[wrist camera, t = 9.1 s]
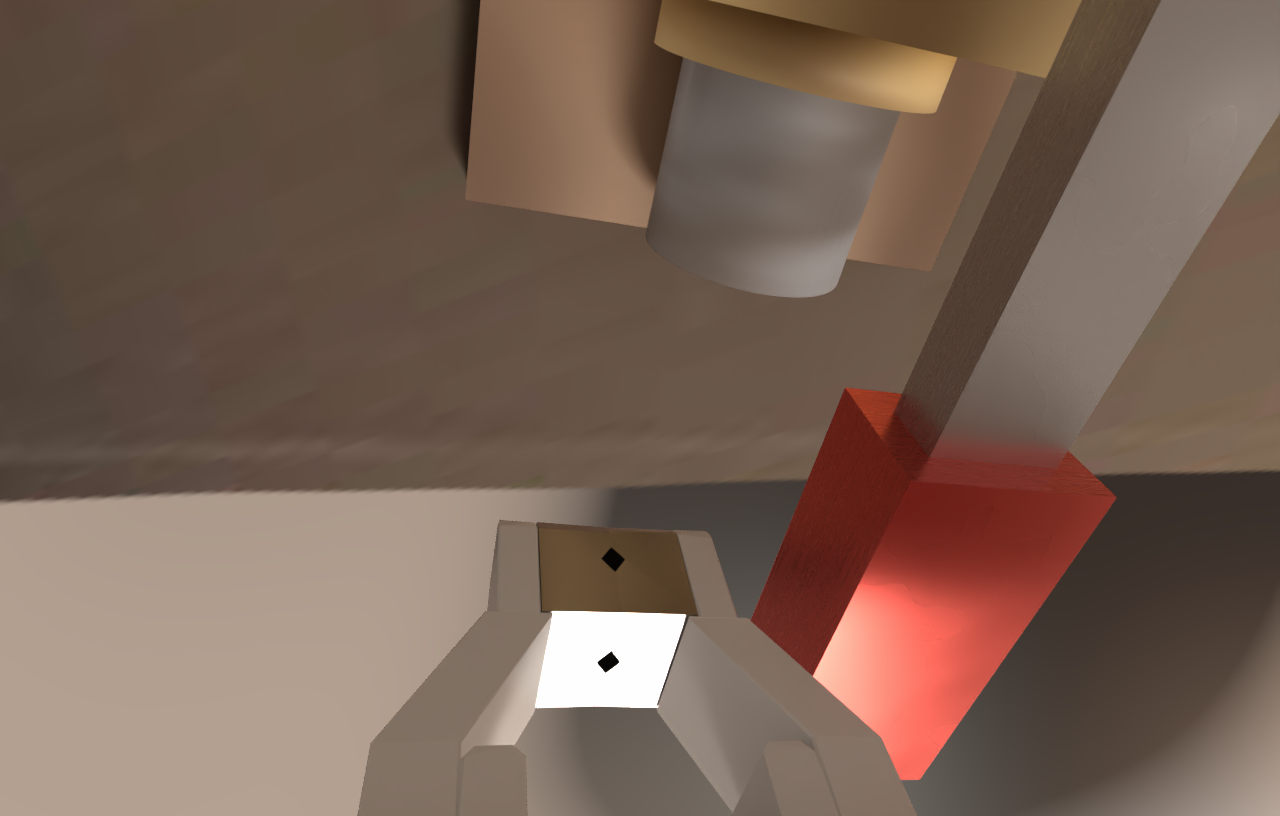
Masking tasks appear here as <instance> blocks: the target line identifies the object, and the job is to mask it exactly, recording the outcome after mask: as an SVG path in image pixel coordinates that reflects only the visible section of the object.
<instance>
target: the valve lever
mask: <svg viewBox="0 0 1280 816" xmlns="http://www.w3.org/2000/svg"><path fill="white" fill-rule="evenodd" d="M1279 113H1280V0H1082V1H1081V3H1080V5H1079V7H1078V9H1077V12H1076V14H1075V16H1074V18H1073V20H1072V23H1071V25H1070V27H1069V29H1068V31H1067V34H1066V36H1065V38H1064V40H1063V42H1062V45H1061V47H1060V49H1059V51H1058V53H1057V56H1056V58H1055V60H1054V62H1053V64H1052V66H1051V69H1050V71H1049V73H1048V75H1047V77H1046V80H1045V82H1044V84H1043V86H1042V88H1041V91H1040V93H1039V95H1038V97H1037V99H1036V102H1035V104H1034V106H1033V108H1032V110H1031V112H1030V115H1029V117H1028V119H1027V121H1026V123H1025V126H1024V128H1023V130H1022V132H1021V134H1020V137H1019V139H1018V141H1017V143H1016V145H1015V148H1014V150H1013V152H1012V154H1011V156H1010V158H1009V161H1008V163H1007V165H1006V167H1005V169H1004V172H1003V174H1002V176H1001V178H1000V180H999V183H998V185H997V187H996V189H995V191H994V194H993V196H992V198H991V200H990V202H989V204H988V207H987V209H986V211H985V213H984V215H983V218H982V220H981V222H980V224H979V226H978V229H977V231H976V233H975V235H974V237H973V240H972V242H971V244H970V246H969V248H968V250H967V253H966V255H965V257H964V259H963V261H962V264H961V266H960V268H959V270H958V272H957V275H956V277H955V279H954V281H953V283H952V286H951V288H950V290H949V292H948V294H947V297H946V299H945V301H944V303H943V305H942V307H941V310H940V312H939V314H938V316H937V318H936V321H935V323H934V325H933V327H932V329H931V332H930V334H929V336H928V338H927V340H926V343H925V345H924V347H923V349H922V351H921V353H920V356H919V358H918V360H917V362H916V364H915V367H914V369H913V371H912V373H911V375H910V378H909V380H908V382H907V384H906V386H905V389H904V391H903V393H902V394H898V393H889V392H880V391H871V390H862V389H853V388H845V390H844V392H843V394H842V397H841V399H840V402H839V404H838V407H837V409H836V412H835V414H834V417H833V419H832V422H831V424H830V426H829V429H828V431H827V434H826V436H825V439H824V441H823V444H822V446H821V449H820V451H819V454H818V456H817V458H816V461H815V463H814V466H813V468H812V471H811V473H810V476H809V478H808V481H807V483H806V486H805V488H804V491H803V493H802V496H801V498H800V500H799V503H798V506H797V508H796V510H795V513H794V515H793V518H792V520H791V522H790V525H789V528H788V530H787V532H786V536H785V537H784V540H783V542H782V545H781V547H780V550H779V552H778V554H777V557H776V559H775V562H774V565H773V567H772V569H771V572H770V574H769V577H768V579H767V582H766V584H765V586H764V589H763V592H762V594H761V596H760V599H759V601H758V604H757V606H756V609H755V611H754V614H753V616H752V619H751V622H753V623H754V624H755V625H756V626H757V627H758V628H759V629H760V630H761V631H763V632H764V633H765V634H766V635H767V636H768V637H769V638H770V639H772V640H773V641H774V642H775V643H776V644H777V645H778V646H779V647H781V648H782V649H783V650H784V651H785V652H786V653H787V654H788V655H790V656H791V657H792V658H793V659H794V660H795V661H796V662H797V663H798V664H800V665H801V666H802V667H803V668H804V669H805V670H806V671H807V672H809V673H810V674H811V675H812V676H813V677H814V678H815V679H816V680H818V681H819V682H820V683H821V684H822V685H823V686H824V687H825V688H826V689H828V690H829V691H830V692H831V693H832V694H833V695H834V696H835V697H837V698H838V699H839V700H840V701H841V702H842V703H843V704H844V705H846V706H847V707H848V708H849V709H850V710H851V711H852V712H853V713H855V714H856V715H857V716H858V717H859V718H860V719H861V720H862V721H863V722H865V723H866V724H867V725H868V726H869V727H870V728H871V729H872V730H874V731H875V732H876V733H877V734H878V735H879V736H880V737H881V738H882V740H883V742H884V744H885V747H886V749H887V751H888V753H889V755H890V758H891V760H892V762H893V764H894V766H895V769H896V771H897V773H898V775H899V777H900V780H920V778H921V777H922V775H923V774H924V773H925V771H926V770H927V768H928V767H929V765H930V764H931V763H932V761H933V759H934V758H935V757H936V755H937V754H938V752H939V751H940V750H941V748H942V747H943V745H944V744H945V742H946V741H947V740H948V738H949V737H950V735H951V734H952V732H953V731H954V729H955V728H956V727H957V725H958V724H959V722H960V721H961V720H962V718H963V716H964V715H965V714H966V712H967V711H968V709H969V708H970V707H971V705H972V704H973V702H974V701H975V700H976V698H977V697H978V695H979V694H980V692H981V691H982V690H983V688H984V687H985V685H986V684H987V682H988V681H989V680H990V678H991V677H992V675H993V674H994V672H995V671H996V669H997V668H998V667H999V665H1000V664H1001V662H1002V661H1003V660H1004V658H1005V657H1006V655H1007V654H1008V652H1009V651H1010V649H1011V648H1012V647H1013V645H1014V643H1015V642H1016V641H1017V640H1018V638H1019V636H1020V635H1021V634H1022V632H1023V631H1024V629H1025V628H1026V627H1027V625H1028V624H1029V622H1030V621H1031V619H1032V618H1033V616H1034V615H1035V614H1036V612H1037V611H1038V609H1039V608H1040V607H1041V605H1042V604H1043V602H1044V601H1045V599H1046V598H1047V597H1048V595H1049V594H1050V592H1051V591H1052V589H1053V588H1054V586H1055V585H1056V584H1057V582H1058V581H1059V579H1060V578H1061V577H1062V575H1063V574H1064V572H1065V571H1066V569H1067V568H1068V567H1069V565H1070V563H1071V562H1072V561H1073V559H1074V558H1075V557H1076V555H1077V554H1078V552H1079V551H1080V549H1081V548H1082V546H1083V545H1084V544H1085V542H1086V541H1087V539H1088V538H1089V536H1090V535H1091V533H1092V532H1093V531H1094V529H1095V528H1096V526H1097V525H1098V524H1099V522H1100V521H1101V519H1102V518H1103V516H1104V515H1105V514H1106V512H1107V511H1108V509H1109V508H1110V506H1111V505H1112V504H1113V502H1114V501H1115V499H1116V498H1117V497H1116V496H1115V495H1114V494H1113V493H1112V492H1111V491H1110V490H1108V489H1107V488H1106V487H1105V486H1104V485H1103V484H1102V483H1101V482H1100V481H1099V480H1098V479H1097V478H1096V477H1095V476H1094V475H1093V474H1092V473H1091V472H1090V471H1089V470H1088V469H1087V468H1085V467H1084V466H1083V465H1082V464H1081V463H1080V462H1079V461H1078V460H1077V459H1076V458H1075V457H1074V456H1073V455H1072V454H1071V453H1070V452H1069V451H1068V450H1069V448H1070V447H1071V445H1072V444H1073V442H1074V440H1075V439H1076V437H1077V436H1078V434H1079V432H1080V431H1081V429H1082V428H1083V426H1084V424H1085V423H1086V421H1087V420H1088V418H1089V417H1090V415H1091V413H1092V412H1093V410H1094V409H1095V407H1096V405H1097V404H1098V402H1099V401H1100V399H1101V397H1102V396H1103V394H1104V393H1105V391H1106V389H1107V388H1108V386H1109V385H1110V383H1111V381H1112V380H1113V378H1114V377H1115V375H1116V373H1117V372H1118V370H1119V369H1120V367H1121V365H1122V364H1123V362H1124V361H1125V359H1126V357H1127V356H1128V354H1129V353H1130V351H1131V350H1132V348H1133V346H1134V345H1135V343H1136V342H1137V340H1138V338H1139V337H1140V335H1141V334H1142V332H1143V330H1144V329H1145V327H1146V326H1147V324H1148V322H1149V321H1150V319H1151V318H1152V316H1153V314H1154V313H1155V311H1156V310H1157V308H1158V306H1159V305H1160V303H1161V302H1162V300H1163V298H1164V297H1165V295H1166V294H1167V292H1168V290H1169V289H1170V287H1171V286H1172V284H1173V283H1174V281H1175V279H1176V278H1177V276H1178V275H1179V273H1180V271H1181V270H1182V268H1183V267H1184V265H1185V263H1186V262H1187V260H1188V259H1189V257H1190V255H1191V254H1192V252H1193V251H1194V249H1195V247H1196V246H1197V244H1198V243H1199V241H1200V239H1201V238H1202V236H1203V235H1204V233H1205V231H1206V230H1207V228H1208V227H1209V225H1210V223H1211V222H1212V220H1213V219H1214V217H1215V216H1216V214H1217V212H1218V211H1219V209H1220V208H1221V206H1222V204H1223V203H1224V201H1225V200H1226V198H1227V196H1228V195H1229V193H1230V192H1231V190H1232V188H1233V187H1234V185H1235V184H1236V182H1237V180H1238V179H1239V177H1240V176H1241V174H1242V172H1243V171H1244V169H1245V168H1246V166H1247V164H1248V163H1249V161H1250V160H1251V158H1252V157H1253V155H1254V153H1255V152H1256V150H1257V149H1258V147H1259V145H1260V144H1261V142H1262V141H1263V139H1264V137H1265V136H1266V134H1267V133H1268V131H1269V129H1270V128H1271V126H1272V125H1273V123H1274V121H1275V120H1276V118H1277V117H1278V115H1279Z"/></svg>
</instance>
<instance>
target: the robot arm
mask: <svg viewBox="0 0 1280 816" xmlns="http://www.w3.org/2000/svg"><path fill="white" fill-rule="evenodd" d="M596 705H597V706H616V707H619V706H620V707H657V712H658V713H659V714H660V716H661V717H662V718H663V720H664V721H665V723H666V724H667V725H668V726H669V728H670V729H671V730H672V732H673V733H674V735H675V736H676V737H677V739H678V740H679V741H680V743H681V744H682V745H683V747H684V748H685V749H686V751H687V752H688V753H689V755H690V756H691V757H692V759H693V760H694V761H695V763H696V764H697V765H698V767H699V768H700V769H701V771H702V772H703V773H704V775H705V776H706V778H707V779H708V780H709V782H710V783H711V784H712V786H713V787H714V788H715V790H716V791H717V792H718V794H719V795H720V796H721V798H722V799H723V800H724V802H725V803H726V804H727V806H728V807H729V808H730V810H731V811H732V812H733V813H732V815H731V816H917V815H916V813H915V811H914V808H913V806H912V804H911V802H910V800H909V797H908V795H907V793H906V791H905V789H904V786H903V784H902V782H901V780H900V777H899V775H898V773H897V771H896V769H895V766H894V764H893V762H892V760H891V758H890V755H889V753H888V751H887V749H886V747H885V744H884V742H883V740H882V738H881V737H880V736H879V735H878V734H877V733H876V732H875V731H874V730H872V729H871V728H870V727H869V726H868V725H867V724H866V723H865V722H863V721H862V720H861V719H860V718H859V717H858V716H857V715H856V714H855V713H853V712H852V711H851V710H850V709H849V708H848V707H847V706H846V705H844V704H843V703H842V702H841V701H840V700H839V699H838V698H837V697H835V696H834V695H833V694H832V693H831V692H830V691H829V690H828V689H826V688H825V687H824V686H823V685H822V684H821V683H820V682H819V681H818V680H816V679H815V678H814V677H813V676H812V675H811V674H810V673H809V672H807V671H806V670H805V669H804V668H803V667H802V666H801V665H800V664H798V663H797V662H796V661H795V660H794V659H793V658H792V657H791V656H790V655H788V654H787V653H786V652H785V651H784V650H783V649H782V648H781V647H779V646H778V645H777V644H776V643H775V642H774V641H773V640H772V639H770V638H769V637H768V636H767V635H766V634H765V633H764V632H763V631H761V630H760V629H759V628H758V627H757V626H756V625H755V624H754V623H753V622H751V621H750V620H749V619H748V618H738V617H737V614H736V611H735V608H734V605H733V602H732V599H731V596H730V593H729V590H728V587H727V584H726V581H725V578H724V575H723V572H722V569H721V566H720V563H719V560H718V557H717V554H716V551H715V548H714V545H713V542H712V539H711V537H710V535H709V534H708V533H707V532H706V531H684V530H683V531H682V530H673V531H669V530H646V529H627V528H605V527H591V526H579V525H565V524H553V523H540V522H538V523H536V524H535V523H531V522H517V521H504V520H500V521H499V523H498V526H497V534H496V541H495V548H494V556H493V563H492V571H491V578H490V587H489V597H488V607H487V611H485V612H484V613H483V615H482V616H481V617H480V618H479V619H478V620H477V622H476V623H475V624H474V625H473V626H472V627H471V628H470V630H469V631H468V632H467V633H466V634H465V635H464V637H463V638H462V639H461V640H460V641H459V642H458V644H457V645H456V646H455V647H454V648H453V649H452V650H451V651H450V653H449V654H448V655H447V656H446V657H445V658H444V660H443V661H442V662H441V663H440V664H439V665H438V666H437V668H436V669H435V670H434V671H433V672H432V673H431V675H430V676H429V677H428V678H427V679H426V680H425V682H424V683H423V684H422V685H421V686H420V687H419V688H418V689H417V691H416V692H415V693H414V694H413V695H412V697H411V698H410V699H409V700H408V701H407V702H406V703H405V704H404V706H403V707H402V708H401V709H400V710H399V711H398V712H397V714H396V715H395V716H394V717H393V718H392V720H391V721H390V722H389V723H388V724H387V725H386V726H385V727H384V729H383V730H382V731H381V732H380V733H379V734H378V735H377V737H376V738H375V739H374V740H373V742H371V745H370V750H369V755H368V761H367V766H366V772H365V777H364V783H363V788H362V793H361V799H360V804H359V810H358V816H527V778H526V755H524V754H523V753H522V752H521V751H520V750H518V749H517V748H516V747H514V745H515V743H516V741H517V740H518V738H519V736H520V734H521V733H522V731H523V730H524V728H525V726H526V724H527V723H528V721H529V719H530V718H531V716H532V715H533V713H534V710H535V708H546V707H547V708H548V707H577V706H578V707H579V706H596Z"/></svg>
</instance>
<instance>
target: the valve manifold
mask: <svg viewBox="0 0 1280 816" xmlns="http://www.w3.org/2000/svg"><path fill="white" fill-rule="evenodd" d="M1081 1H1082V0H480V13H479V26H478V39H477V52H476V66H475V79H474V92H473V105H472V118H471V131H470V144H469V157H468V170H467V184H466V197H465V200H470V201H477V202H483V203H490V204H496V205H503V206H509V207H516V208H522V209H529V210H535V211H541V212H548V213H554V214H561V215H567V216H574V217H580V218H587V219H593V220H599V221H606V222H612V223H619V224H625V225H632V226H638V227H645V228H647V230H646V240H647V242H648V243H649V245H650V246H651V247H652V248H653V250H654V251H656V252H657V253H658V254H659V255H660V256H662V257H663V258H664V259H666V260H667V261H669V262H671V263H672V264H674V265H676V266H677V267H679V268H682V269H684V270H686V271H688V272H690V273H692V274H694V275H697V276H699V277H702V278H704V279H707V280H710V281H712V282H715V283H719V284H722V285H725V286H728V287H732V288H736V289H740V290H744V291H749V292H753V293H759V294H765V295H771V296H780V297H812V296H818V295H823V294H826V293H828V292H830V291H832V290H833V289H834V288H835V287H836V286H837V283H838V280H839V278H840V275H841V272H842V269H843V267H844V264H845V261H846V259H851V260H858V261H864V262H870V263H877V264H883V265H890V266H896V267H903V268H909V269H916V270H922V271H929V272H931V269H932V267H933V265H934V263H935V260H936V258H937V256H938V253H939V251H940V249H941V247H942V244H943V242H944V240H945V237H946V235H947V233H948V231H949V228H950V226H951V224H952V221H953V219H954V217H955V214H956V212H957V210H958V208H959V205H960V203H961V201H962V198H963V196H964V194H965V192H966V189H967V187H968V185H969V182H970V180H971V178H972V176H973V173H974V171H975V169H976V166H977V164H978V162H979V160H980V157H981V155H982V153H983V150H984V148H985V146H986V144H987V141H988V139H989V137H990V134H991V132H992V130H993V128H994V125H995V123H996V121H997V118H998V116H999V114H1000V111H1001V109H1002V107H1003V105H1004V102H1005V100H1006V98H1007V95H1008V93H1009V91H1010V89H1011V86H1012V84H1013V82H1014V79H1015V77H1016V75H1017V73H1018V72H1022V73H1026V74H1031V75H1035V76H1039V77H1044V78H1046V77H1047V75H1048V73H1049V71H1050V69H1051V66H1052V64H1053V62H1054V60H1055V58H1056V56H1057V53H1058V51H1059V49H1060V47H1061V45H1062V42H1063V40H1064V38H1065V36H1066V34H1067V31H1068V29H1069V27H1070V25H1071V23H1072V20H1073V18H1074V16H1075V14H1076V12H1077V9H1078V7H1079V5H1080V3H1081Z"/></svg>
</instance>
